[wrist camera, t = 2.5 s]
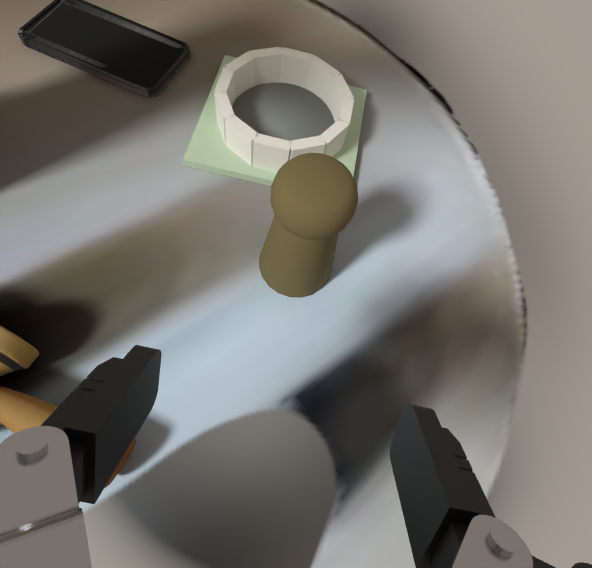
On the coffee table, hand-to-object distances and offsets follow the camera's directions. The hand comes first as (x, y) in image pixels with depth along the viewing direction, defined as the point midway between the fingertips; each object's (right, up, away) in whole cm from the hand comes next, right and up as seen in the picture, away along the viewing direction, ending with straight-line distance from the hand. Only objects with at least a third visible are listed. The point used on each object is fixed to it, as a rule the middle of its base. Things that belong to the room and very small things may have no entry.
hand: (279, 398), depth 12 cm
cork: (+1, +5, +19) cm, 20 cm away
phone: (-18, +27, +26) cm, 42 cm away
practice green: (-1, +19, +24) cm, 31 cm away
